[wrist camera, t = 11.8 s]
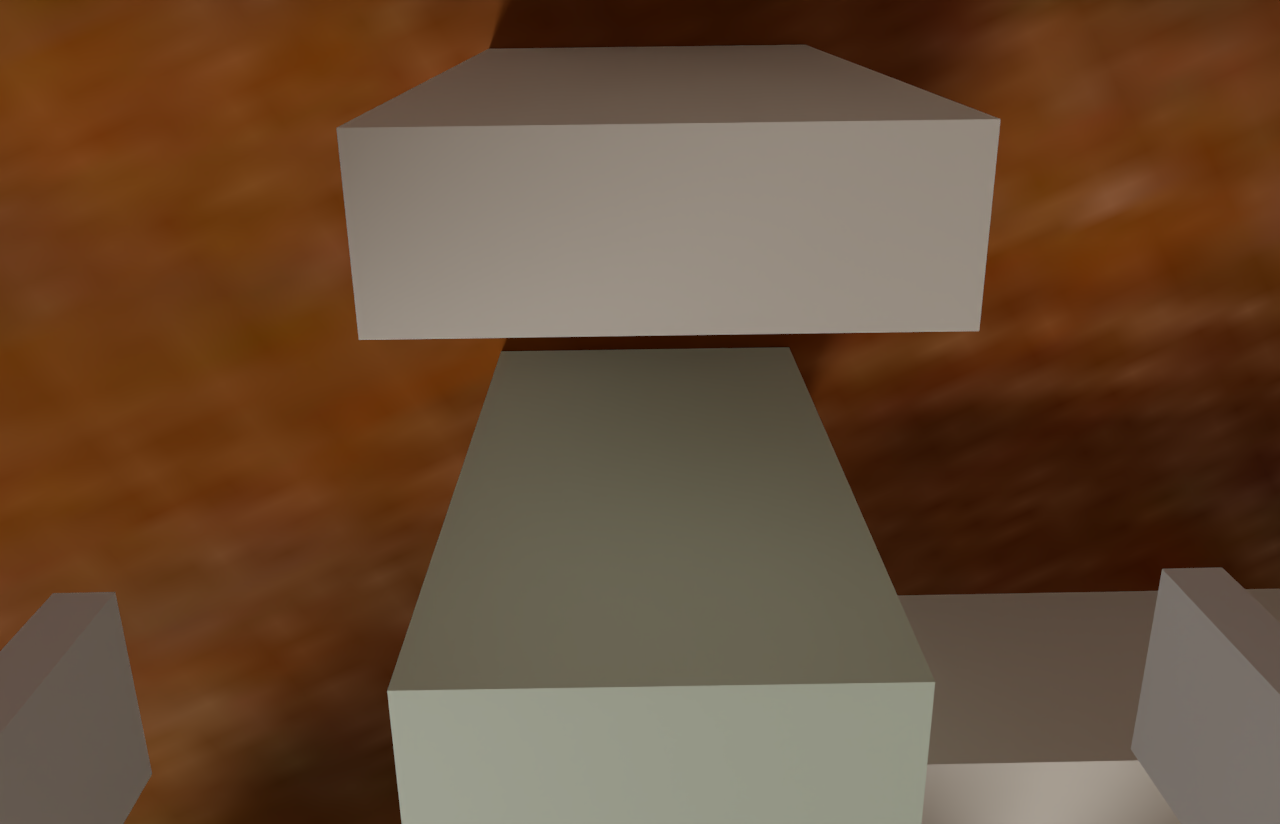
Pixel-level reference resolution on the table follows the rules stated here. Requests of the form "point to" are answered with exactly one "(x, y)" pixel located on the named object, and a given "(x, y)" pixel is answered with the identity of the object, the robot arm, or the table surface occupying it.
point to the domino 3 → (1039, 706)
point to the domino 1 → (666, 198)
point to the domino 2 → (657, 610)
